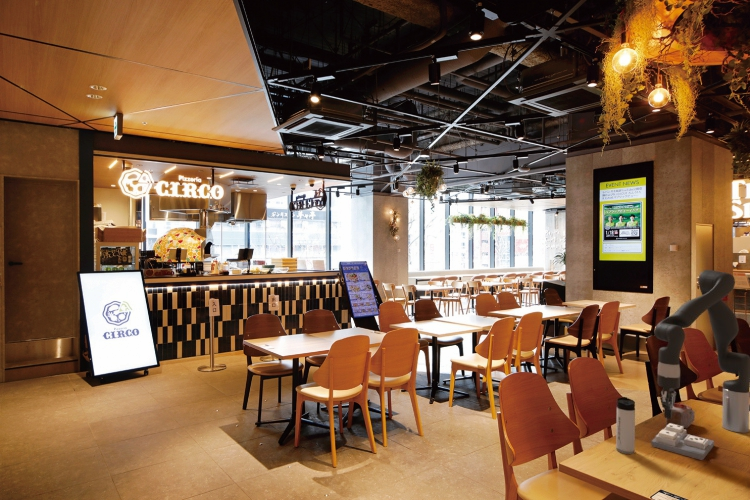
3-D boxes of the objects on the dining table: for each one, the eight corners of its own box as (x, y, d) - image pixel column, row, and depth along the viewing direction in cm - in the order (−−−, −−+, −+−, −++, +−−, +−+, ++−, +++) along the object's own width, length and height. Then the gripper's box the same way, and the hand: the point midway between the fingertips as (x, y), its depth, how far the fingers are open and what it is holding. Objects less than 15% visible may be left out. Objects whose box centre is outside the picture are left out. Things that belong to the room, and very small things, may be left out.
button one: (662, 434, 189) (662, 428, 189) (676, 437, 186) (676, 432, 186) (658, 437, 186) (658, 432, 186) (673, 441, 182) (673, 436, 182)
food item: (675, 419, 215) (676, 398, 215) (695, 424, 209) (696, 402, 209) (664, 426, 207) (664, 404, 207) (684, 432, 201) (685, 409, 201)
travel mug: (632, 448, 183) (633, 397, 183) (636, 455, 177) (636, 402, 177) (614, 446, 185) (615, 395, 185) (617, 453, 179) (618, 400, 179)
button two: (669, 427, 196) (669, 422, 196) (683, 431, 192) (683, 426, 192) (666, 431, 193) (666, 425, 193) (680, 434, 189) (680, 429, 189)
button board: (665, 433, 199) (665, 423, 199) (713, 445, 187) (714, 435, 187) (651, 446, 186) (651, 436, 186) (702, 460, 174) (702, 449, 174)
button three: (690, 440, 187) (690, 435, 187) (705, 444, 183) (705, 438, 183) (686, 444, 183) (687, 438, 183) (702, 448, 179) (702, 442, 179)
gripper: (662, 369, 193) (662, 411, 193) (652, 375, 184) (652, 419, 184) (684, 373, 187) (683, 416, 187) (675, 379, 178) (674, 424, 178)
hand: (668, 417), depth 186 cm, fingers closed
